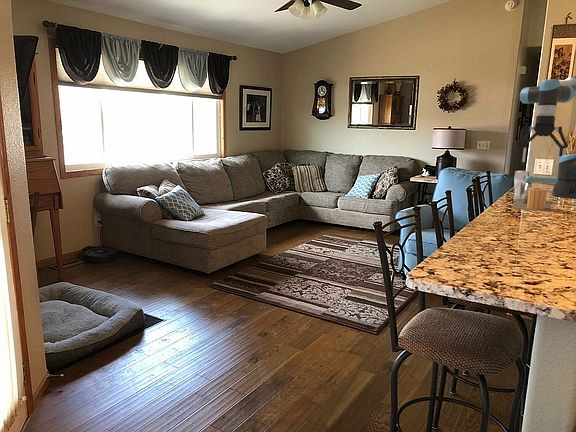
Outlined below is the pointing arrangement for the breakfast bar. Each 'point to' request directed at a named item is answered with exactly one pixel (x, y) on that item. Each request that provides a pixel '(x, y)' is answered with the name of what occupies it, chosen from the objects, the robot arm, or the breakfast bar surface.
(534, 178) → the bar
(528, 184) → the silver metal piece
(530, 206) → the collar
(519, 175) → the beer glass
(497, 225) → the breakfast bar surface
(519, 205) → the plate
